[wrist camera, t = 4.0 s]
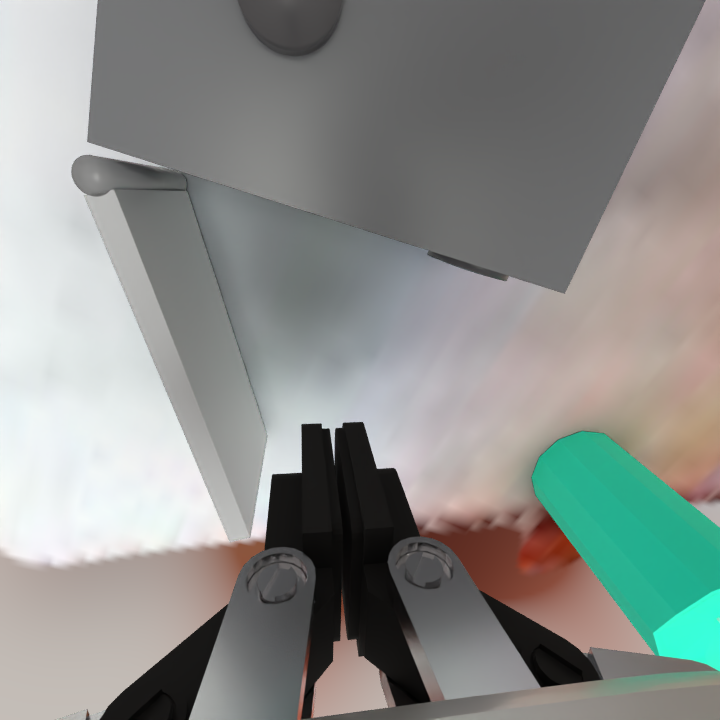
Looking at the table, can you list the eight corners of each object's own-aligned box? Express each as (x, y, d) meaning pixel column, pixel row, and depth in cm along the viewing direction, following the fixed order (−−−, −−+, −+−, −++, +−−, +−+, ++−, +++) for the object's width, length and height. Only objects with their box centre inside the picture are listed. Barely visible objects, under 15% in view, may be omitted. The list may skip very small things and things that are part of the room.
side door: (269, 435, 23) (252, 536, 16) (242, 441, 22) (214, 546, 16) (182, 167, 17) (103, 151, 11) (146, 174, 17) (44, 162, 11)
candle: (566, 418, 25) (772, 597, 14) (638, 447, 26) (876, 631, 15) (513, 493, 27) (659, 706, 16) (584, 517, 28) (761, 726, 17)
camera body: (553, 51, 18) (762, -70, 10) (470, 264, 21) (574, 310, 13) (218, -104, 15) (107, -473, 7) (178, 172, 18) (69, 153, 10)
